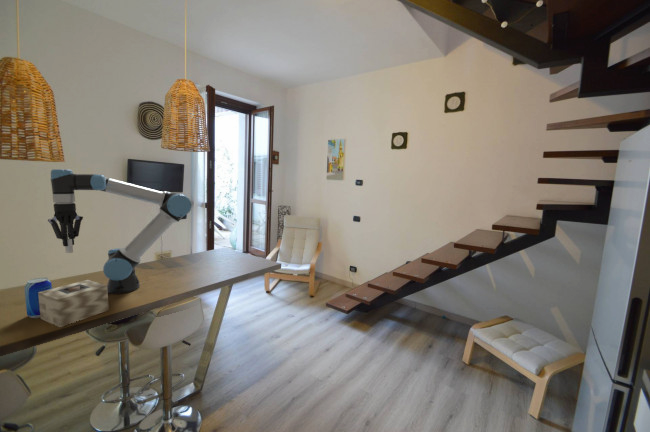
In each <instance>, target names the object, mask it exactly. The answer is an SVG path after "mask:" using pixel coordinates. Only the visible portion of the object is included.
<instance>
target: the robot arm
mask: <svg viewBox="0 0 650 432" xmlns="http://www.w3.org/2000/svg"><path fill="white" fill-rule="evenodd" d="M50 184H51V190H52V201H53V203H54V204H53V211H54V214H53V217H51V218H48V219H47V222H49V224H50V226H51V227H52V229H53V233H54V235H55V236H56V239H58V240H62V246H63V247H64V248H65V253H66V254H72V253H74V249H73V246H74V245H75V239H76V237H79V236H80V235H79V234H80V231H81V224H82V223H81V222H82V221H83V219H84V216H80V215H79V214H78V212H77V211H76V210H77V207H76V203H75V202H76V196H75V194H76V193H75V191H99V192H105V193H109V194H114V195H118V196H121V197H122V196H123V197H125V198H131V199H133V200H138V201H142V202H145V203H151V204H154V205H158V206H159V213H157V215H156V216H154V218H152V220H151V221H149V223H148V224H147V225H146V226H145V227H144V228H143V229H142V230H141V231H140V232H139V233H138V234H137V235H136V236H135V237H133V239H132V240H131V241H130V242H129V243H128V244H127V245H126V246H125V247H119V248H112V249H109V250H108V252H107V257H108V259H107V260H106V262H105V263H104V265H103V268H102V269H103V274H104V276H105V277H106V278H107V279H108V282H107V284H106V285H107V290H108V294H112V295H114V294H118V295H119V294H125V293H129V292H133V291H135V290H137V289H139V288H140V286H141V285H140V281H139V278H138V276H137V274H136V267H137V266H138V265H139V264H140V263H141V257H142V256H143V255H145V253H146V252H147V251H148V250H149V249H150V248H151V247H152V246H153V245H154V244H155V243H156V242H157V241H158V239H159V238H161V236H163V234H165V232H166V231H167V230H168V229H169V228H170V227H171V226H172V225H173V224H174V223H179V222H180V221H181V220H182V219H183V218H184V216H186V215H188V214H189V213H190V211H192V207H193V205H192V201H191V199H190V198H189V197H188V196H187V195H185V194H184V193H180V192H170V191H167V190H163V191H160V190H156V189H154V188H153V189H152V188H149V187H145V186H141V185H137V184H134V183H130V182H126V181H123V180H118V179H116V178H115V179H114V178H112V177H110V178H109V177H106V176H105V175H103V174H96V173H95V174H91V173H90V174H87V173H86V174H85V173H84V174H83V173H82V174H80V173H78V174H77V173H73V170H72V169H60V168H59V169H52V170H51V171H50ZM58 223H59V224H58Z"/></svg>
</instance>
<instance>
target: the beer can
mask: <svg viewBox="0 0 650 432" xmlns="http://www.w3.org/2000/svg"><path fill="white" fill-rule="evenodd" d="M23 289H24V297H25V299H24V300H25V308H26V315H27V316H28V317H29V318H31V319H39V318H41V317H40V306H39V295H38V292H41V291H45V290H49V289H53V286H52V282H51V281H50V280H49V278H48V277H35V278H33V279H29V280H27V281H26V284H25V286H24V287H23Z"/></svg>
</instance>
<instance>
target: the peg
mask: <svg viewBox="0 0 650 432" xmlns="http://www.w3.org/2000/svg"><path fill="white" fill-rule="evenodd" d="M79 289H80V286H74V287H70V288H68V291H69V292H72V291H75V290H79Z"/></svg>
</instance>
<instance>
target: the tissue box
mask: <svg viewBox="0 0 650 432" xmlns="http://www.w3.org/2000/svg"><path fill="white" fill-rule="evenodd" d="M74 286H80V289H79V290H75V291H72V292H69V291H68V288H70V287H74ZM38 295H39V306H40V317H39V318H40V320H43V321H45V322H47V323H49V324H51V325H53V324H54V326H55V327H59V328H60V327H61V328H63V327H65V325H66V326H68V324H69V325H72V324H74V323H77V322H79V320H80V321H82V320H85V319H88V318H91V317H93V316H96V315H98V314H101V313H104V312H107V311H109V309H110V308H109V307H110V306H109V296H108V295H109V293H108V290H107V284H103V283H100V282H97V281H92V280H90V279H86V280H81V281H80V280H79V281H78V282H77V281H76V282H73V283H69V284H66V285H65V284H64V285H61V286H58V287H52V289H49V290H45V291H41V292H38ZM76 321H77V322H76ZM71 323H72V324H71Z"/></svg>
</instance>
